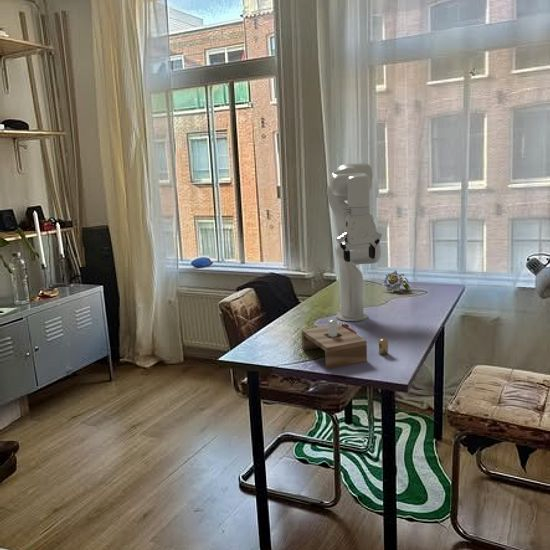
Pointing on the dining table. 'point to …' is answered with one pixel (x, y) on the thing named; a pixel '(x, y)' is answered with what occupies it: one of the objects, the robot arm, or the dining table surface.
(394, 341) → the dining table surface
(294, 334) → the dining table surface
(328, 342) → the hole stand
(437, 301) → the dining table surface
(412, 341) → the dining table surface
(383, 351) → the short pin
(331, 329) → the long pin
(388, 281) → the passion flower
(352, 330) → the pliers
